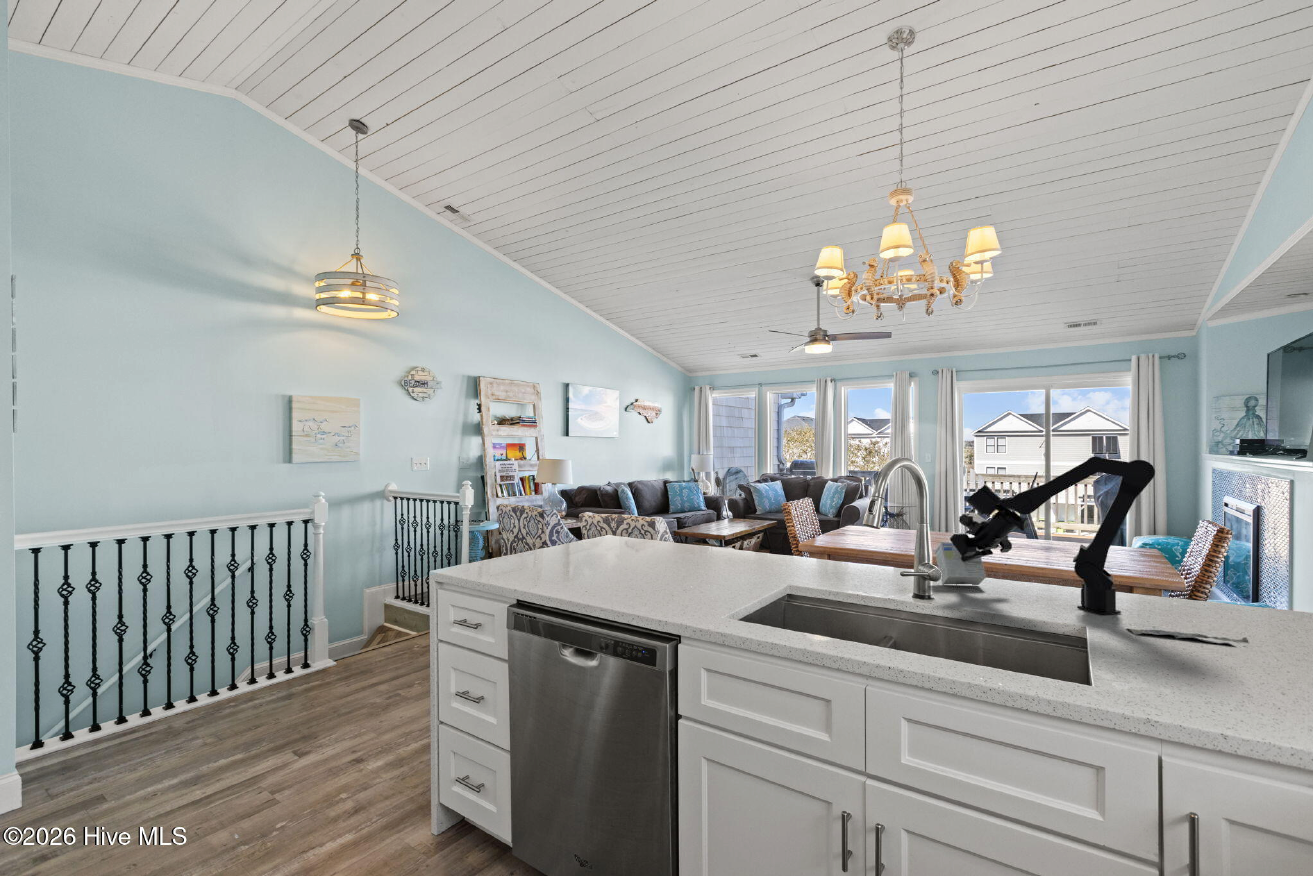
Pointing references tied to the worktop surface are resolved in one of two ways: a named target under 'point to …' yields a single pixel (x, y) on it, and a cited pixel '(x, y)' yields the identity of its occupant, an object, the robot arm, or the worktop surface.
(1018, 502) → the robot arm
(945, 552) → the light bulb box
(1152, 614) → the worktop surface
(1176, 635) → the driftwood
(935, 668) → the worktop surface
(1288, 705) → the worktop surface
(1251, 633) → the worktop surface
